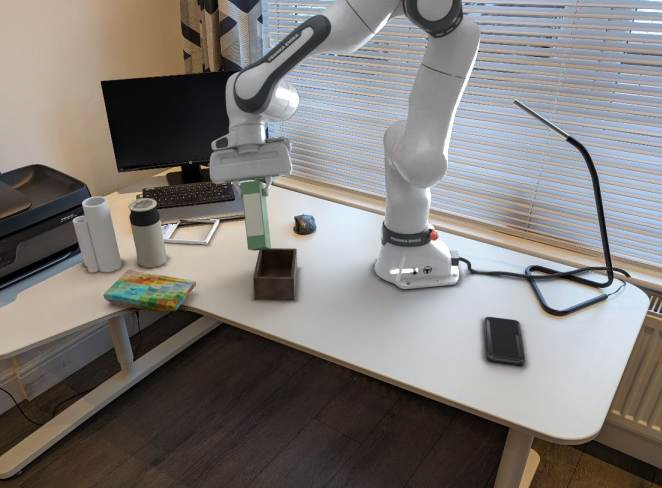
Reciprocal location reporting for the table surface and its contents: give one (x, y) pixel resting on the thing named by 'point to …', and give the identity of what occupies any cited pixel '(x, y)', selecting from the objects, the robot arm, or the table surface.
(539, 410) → the table surface
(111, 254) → the vase
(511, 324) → the phone
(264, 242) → the tea packet
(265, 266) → the box
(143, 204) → the travel mug
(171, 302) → the puzzle game
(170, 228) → the photo frame
